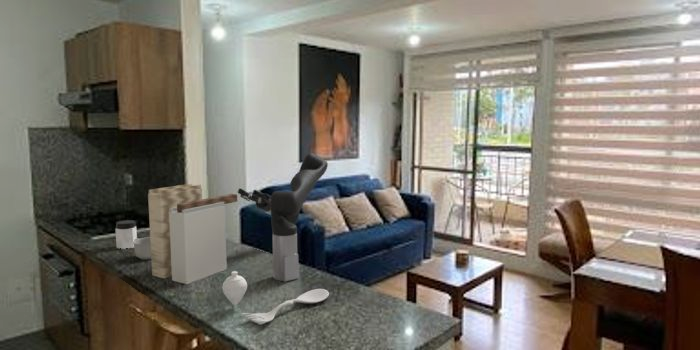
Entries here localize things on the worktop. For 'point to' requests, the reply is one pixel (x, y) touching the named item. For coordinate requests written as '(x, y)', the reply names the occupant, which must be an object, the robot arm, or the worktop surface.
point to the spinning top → (234, 288)
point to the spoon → (307, 297)
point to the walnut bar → (207, 202)
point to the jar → (125, 234)
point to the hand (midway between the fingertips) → (246, 191)
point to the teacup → (142, 248)
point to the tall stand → (166, 222)
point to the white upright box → (197, 242)
